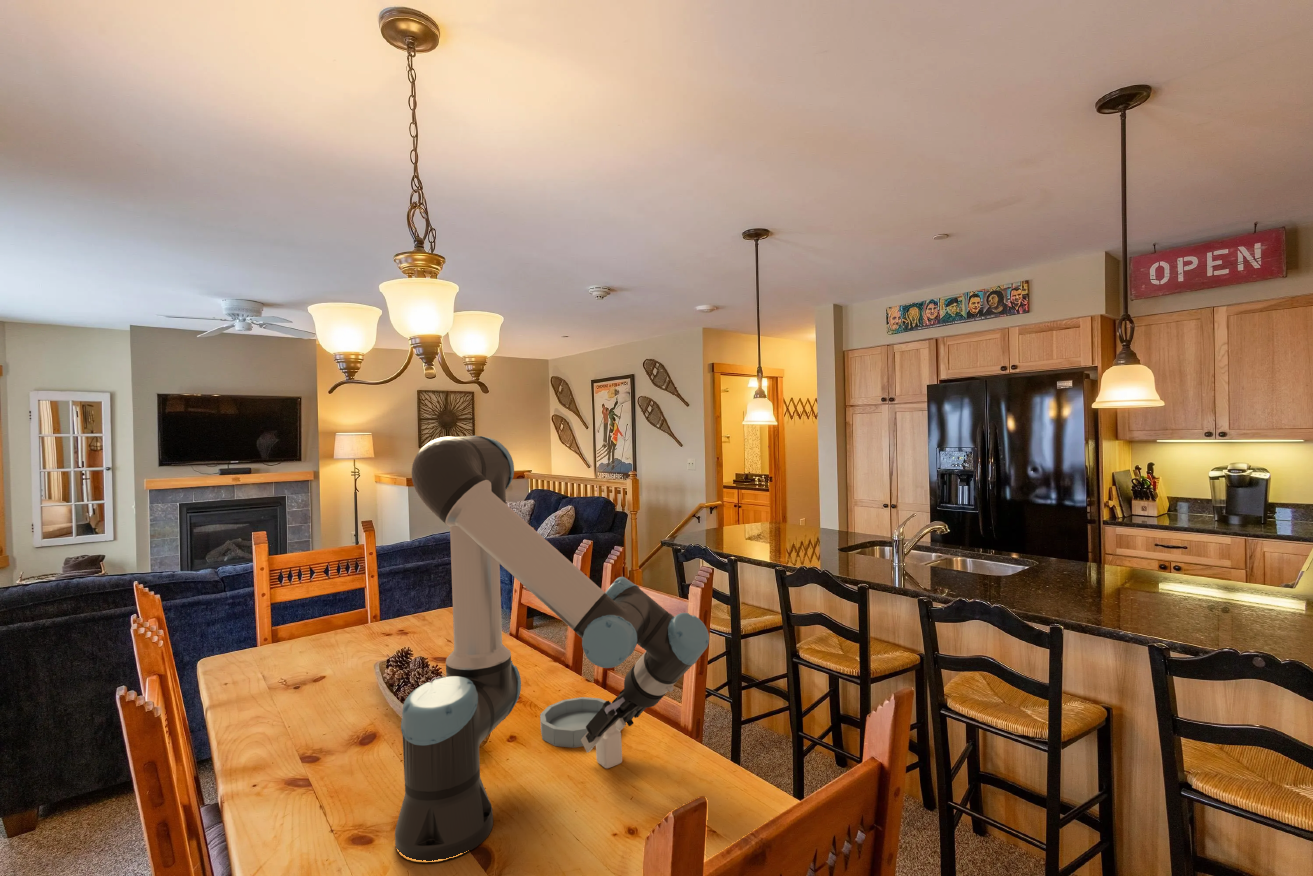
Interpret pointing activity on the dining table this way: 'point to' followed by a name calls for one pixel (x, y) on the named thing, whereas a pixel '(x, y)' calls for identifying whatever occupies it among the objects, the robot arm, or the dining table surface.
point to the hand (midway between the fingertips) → (596, 740)
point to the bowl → (568, 720)
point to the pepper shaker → (609, 748)
